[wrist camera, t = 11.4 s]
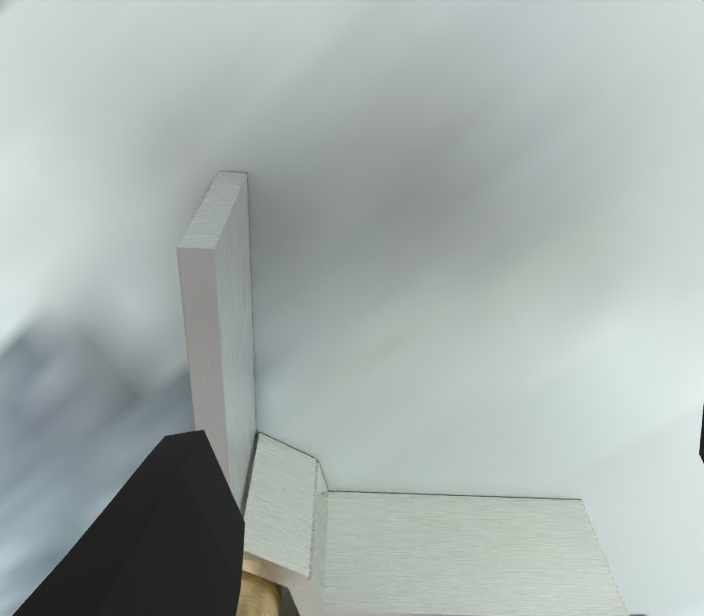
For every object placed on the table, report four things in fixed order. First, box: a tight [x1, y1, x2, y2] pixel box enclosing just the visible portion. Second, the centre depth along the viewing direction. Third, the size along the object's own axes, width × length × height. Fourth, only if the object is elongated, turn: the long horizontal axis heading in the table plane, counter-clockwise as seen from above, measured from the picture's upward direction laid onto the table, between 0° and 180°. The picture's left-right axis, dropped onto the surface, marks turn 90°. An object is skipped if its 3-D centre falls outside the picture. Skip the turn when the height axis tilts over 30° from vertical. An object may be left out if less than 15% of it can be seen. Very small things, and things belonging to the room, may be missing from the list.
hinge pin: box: [236, 570, 282, 616], centre depth 21 cm, size 4×4×8 cm
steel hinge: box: [177, 172, 629, 616], centre depth 20 cm, size 16×16×5 cm
